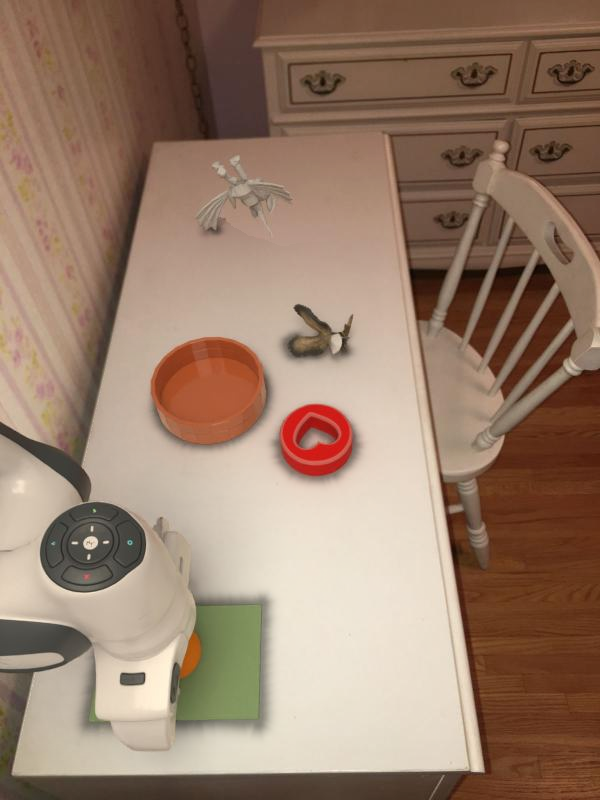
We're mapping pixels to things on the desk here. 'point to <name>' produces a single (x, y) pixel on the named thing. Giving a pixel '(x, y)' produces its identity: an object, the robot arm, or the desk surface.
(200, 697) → the felt mat
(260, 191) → the grey winged dragon figurine
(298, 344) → the eagle figurine
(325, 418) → the decorative ornament
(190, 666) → the orange
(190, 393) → the pot
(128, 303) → the desk surface
